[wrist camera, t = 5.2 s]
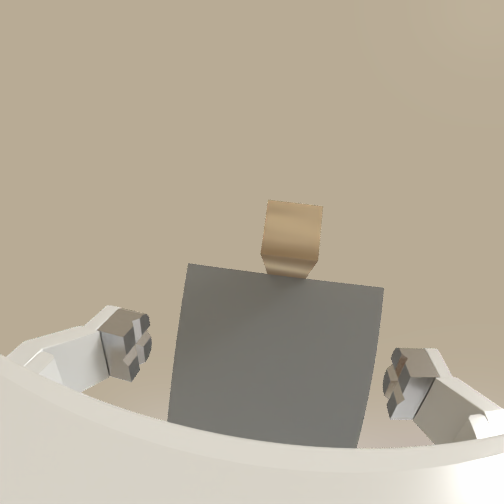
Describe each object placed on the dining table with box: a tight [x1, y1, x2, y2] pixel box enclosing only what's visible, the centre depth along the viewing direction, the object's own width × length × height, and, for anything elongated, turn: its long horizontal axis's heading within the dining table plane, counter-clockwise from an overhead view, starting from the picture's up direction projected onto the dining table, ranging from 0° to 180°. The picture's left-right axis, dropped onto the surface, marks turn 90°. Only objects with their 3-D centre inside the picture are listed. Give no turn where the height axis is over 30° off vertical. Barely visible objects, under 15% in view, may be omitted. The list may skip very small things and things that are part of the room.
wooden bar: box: [261, 200, 323, 279], centre depth 26 cm, size 20×3×3 cm, turn 175°
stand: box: [167, 264, 384, 448], centre depth 28 cm, size 12×16×30 cm
